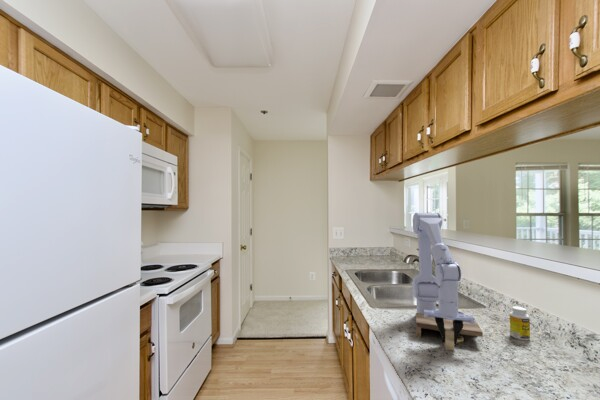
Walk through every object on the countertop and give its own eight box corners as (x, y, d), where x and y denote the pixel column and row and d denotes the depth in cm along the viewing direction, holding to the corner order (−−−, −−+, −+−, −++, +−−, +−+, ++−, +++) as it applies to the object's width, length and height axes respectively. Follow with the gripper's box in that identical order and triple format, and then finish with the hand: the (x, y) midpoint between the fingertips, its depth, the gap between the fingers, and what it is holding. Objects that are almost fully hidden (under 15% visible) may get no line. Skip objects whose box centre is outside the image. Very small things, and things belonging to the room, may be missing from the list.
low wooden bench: (416, 325, 106) (415, 312, 106) (476, 335, 98) (475, 320, 98) (416, 336, 97) (416, 322, 97) (482, 347, 89) (482, 332, 89)
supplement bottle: (523, 342, 93) (522, 311, 93) (506, 335, 98) (505, 306, 99) (534, 339, 95) (533, 309, 95) (516, 332, 100) (515, 304, 101)
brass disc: (449, 342, 93) (449, 339, 93) (444, 336, 97) (444, 332, 98) (465, 344, 92) (465, 340, 92) (459, 337, 97) (459, 333, 97)
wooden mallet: (439, 332, 100) (439, 315, 100) (449, 333, 99) (448, 316, 99) (445, 349, 88) (445, 330, 88) (456, 350, 87) (456, 331, 87)
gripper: (424, 300, 89) (425, 343, 88) (476, 307, 83) (477, 352, 83) (423, 294, 95) (424, 334, 95) (471, 300, 90) (472, 342, 89)
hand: (448, 342), depth 89 cm, fingers closed on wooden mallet, 3 cm apart
